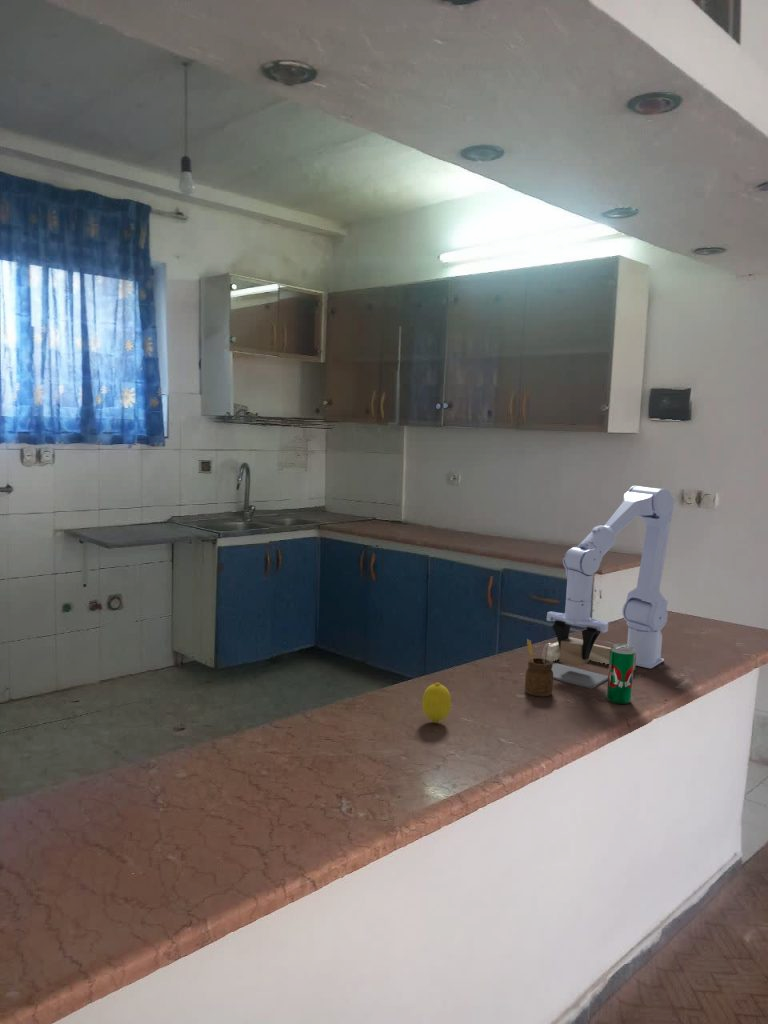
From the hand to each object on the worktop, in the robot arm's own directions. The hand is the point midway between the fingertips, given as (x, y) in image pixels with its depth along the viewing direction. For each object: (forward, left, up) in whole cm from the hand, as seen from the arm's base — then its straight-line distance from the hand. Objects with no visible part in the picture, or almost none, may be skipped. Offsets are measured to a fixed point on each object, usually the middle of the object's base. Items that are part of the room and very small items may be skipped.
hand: (574, 656), depth 182 cm
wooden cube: (0, 0, -1) cm, 1 cm away
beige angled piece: (-9, 0, -4) cm, 10 cm away
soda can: (+9, +15, -5) cm, 18 cm away
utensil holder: (+17, 0, -5) cm, 18 cm away
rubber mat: (+1, 0, -4) cm, 5 cm away
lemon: (+47, -6, -5) cm, 48 cm away
